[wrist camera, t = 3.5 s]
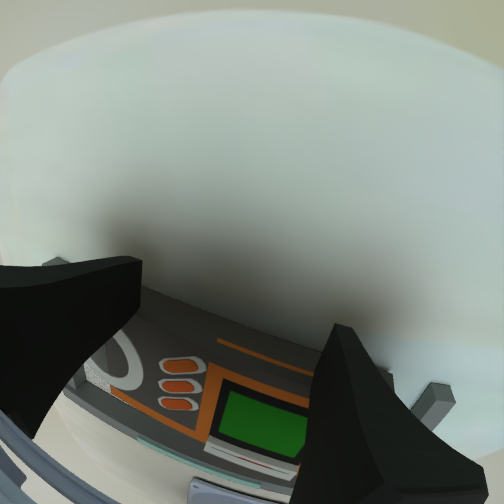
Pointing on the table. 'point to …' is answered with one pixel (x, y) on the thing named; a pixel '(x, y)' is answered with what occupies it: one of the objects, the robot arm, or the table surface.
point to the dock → (192, 450)
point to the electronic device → (214, 382)
